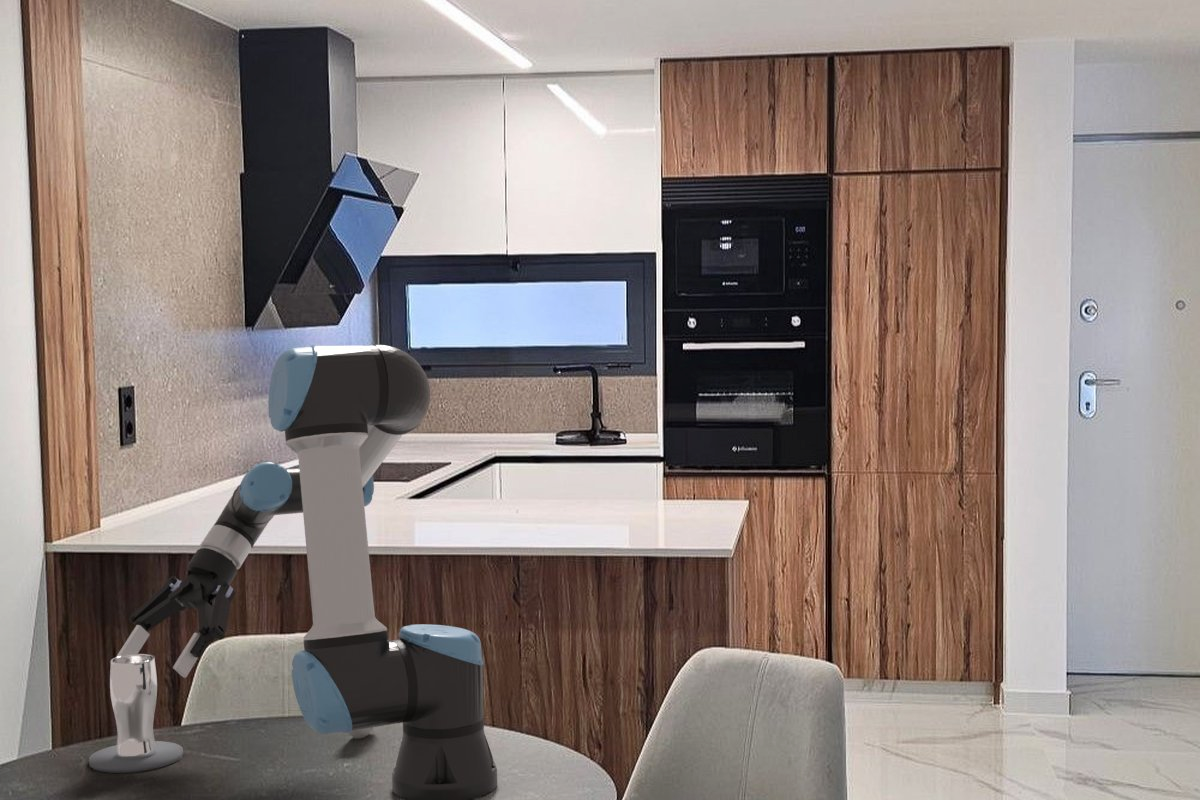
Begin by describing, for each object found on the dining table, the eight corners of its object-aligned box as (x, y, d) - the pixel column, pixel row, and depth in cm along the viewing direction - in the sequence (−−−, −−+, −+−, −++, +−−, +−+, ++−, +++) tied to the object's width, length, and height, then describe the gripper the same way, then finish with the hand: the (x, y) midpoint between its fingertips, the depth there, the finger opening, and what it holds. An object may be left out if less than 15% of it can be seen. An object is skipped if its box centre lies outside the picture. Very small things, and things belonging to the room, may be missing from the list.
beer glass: (146, 761, 224) (142, 664, 223) (104, 759, 225) (100, 663, 224) (167, 747, 231) (163, 653, 230) (126, 746, 232) (122, 652, 231)
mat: (200, 757, 228) (200, 752, 228) (117, 778, 218) (117, 773, 218) (154, 740, 238) (153, 736, 238) (72, 760, 228) (72, 755, 228)
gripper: (284, 578, 238) (218, 689, 226) (180, 567, 252) (112, 672, 240) (259, 550, 233) (190, 663, 222) (154, 541, 247) (84, 646, 235)
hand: (149, 668), depth 231 cm, fingers open, 13 cm apart
